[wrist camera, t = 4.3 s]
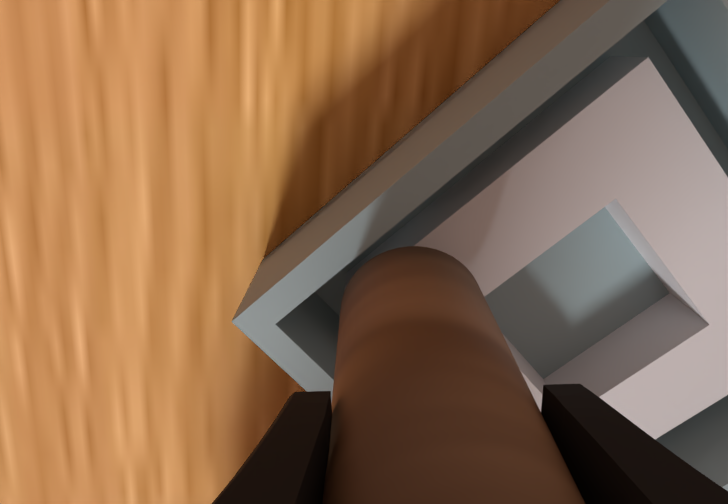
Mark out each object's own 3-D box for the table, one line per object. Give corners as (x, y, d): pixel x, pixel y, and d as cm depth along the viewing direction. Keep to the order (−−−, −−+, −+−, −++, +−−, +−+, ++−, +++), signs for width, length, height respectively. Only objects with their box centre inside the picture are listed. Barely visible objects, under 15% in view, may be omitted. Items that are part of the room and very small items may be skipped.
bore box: (509, 502, 22) (542, 610, 18) (263, 259, 18) (231, 321, 14) (841, 294, 19) (980, 365, 14) (620, -53, 15) (719, -93, 11)
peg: (404, 398, 15) (447, 767, 7) (310, 308, 14) (245, 623, 6) (512, 317, 14) (691, 638, 6) (419, 216, 13) (498, 448, 5)
